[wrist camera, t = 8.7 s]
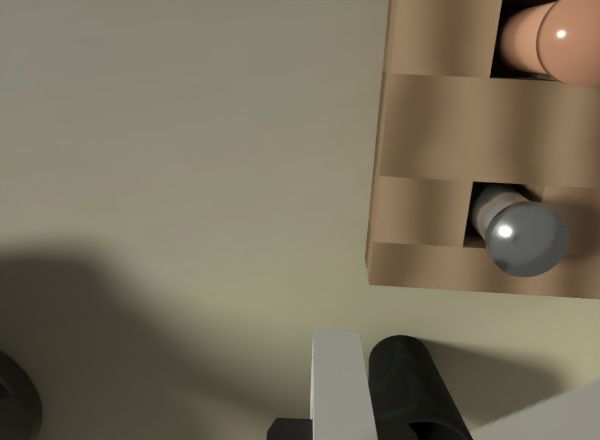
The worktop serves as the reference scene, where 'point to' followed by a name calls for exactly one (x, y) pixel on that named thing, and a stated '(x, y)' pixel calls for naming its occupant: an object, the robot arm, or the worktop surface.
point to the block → (475, 155)
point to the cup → (412, 390)
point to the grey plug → (517, 229)
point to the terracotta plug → (554, 41)
